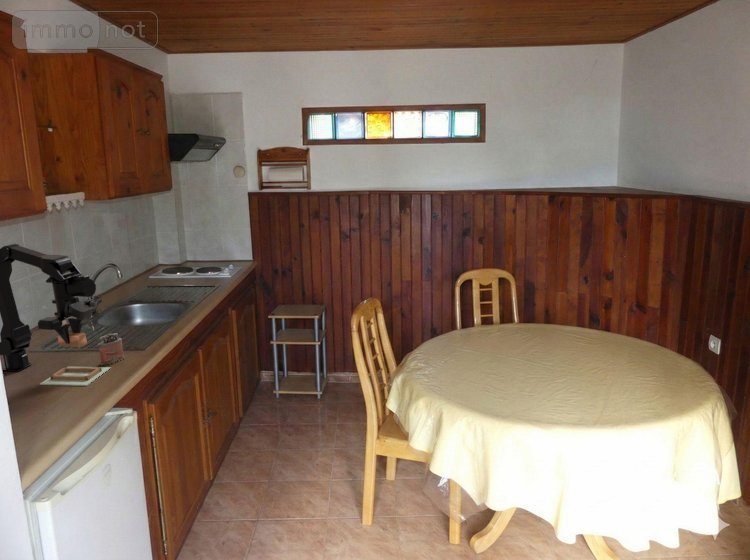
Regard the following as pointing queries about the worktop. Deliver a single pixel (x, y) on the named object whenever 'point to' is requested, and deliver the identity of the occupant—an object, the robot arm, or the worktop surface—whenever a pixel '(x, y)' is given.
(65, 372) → the mat
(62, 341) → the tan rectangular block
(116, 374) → the worktop surface
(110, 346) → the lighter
